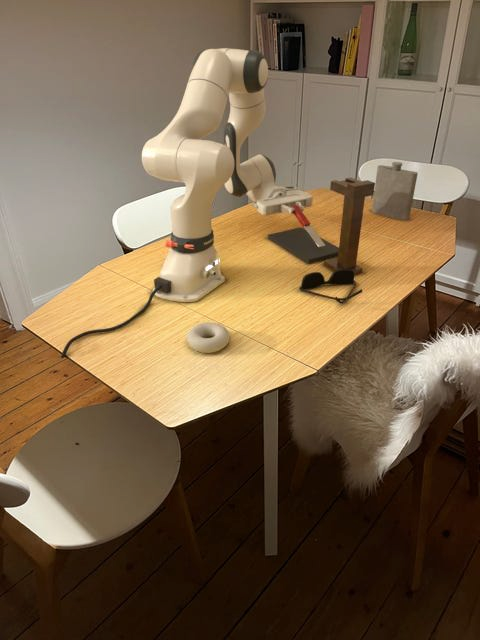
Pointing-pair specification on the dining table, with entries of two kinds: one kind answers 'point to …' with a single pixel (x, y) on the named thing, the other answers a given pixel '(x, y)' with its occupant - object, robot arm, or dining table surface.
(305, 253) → the cutting board
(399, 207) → the hip flask
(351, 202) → the wooden post stand
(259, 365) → the dining table surface
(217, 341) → the donut
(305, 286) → the sunglasses
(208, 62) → the robot arm
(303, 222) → the knife
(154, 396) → the dining table surface
